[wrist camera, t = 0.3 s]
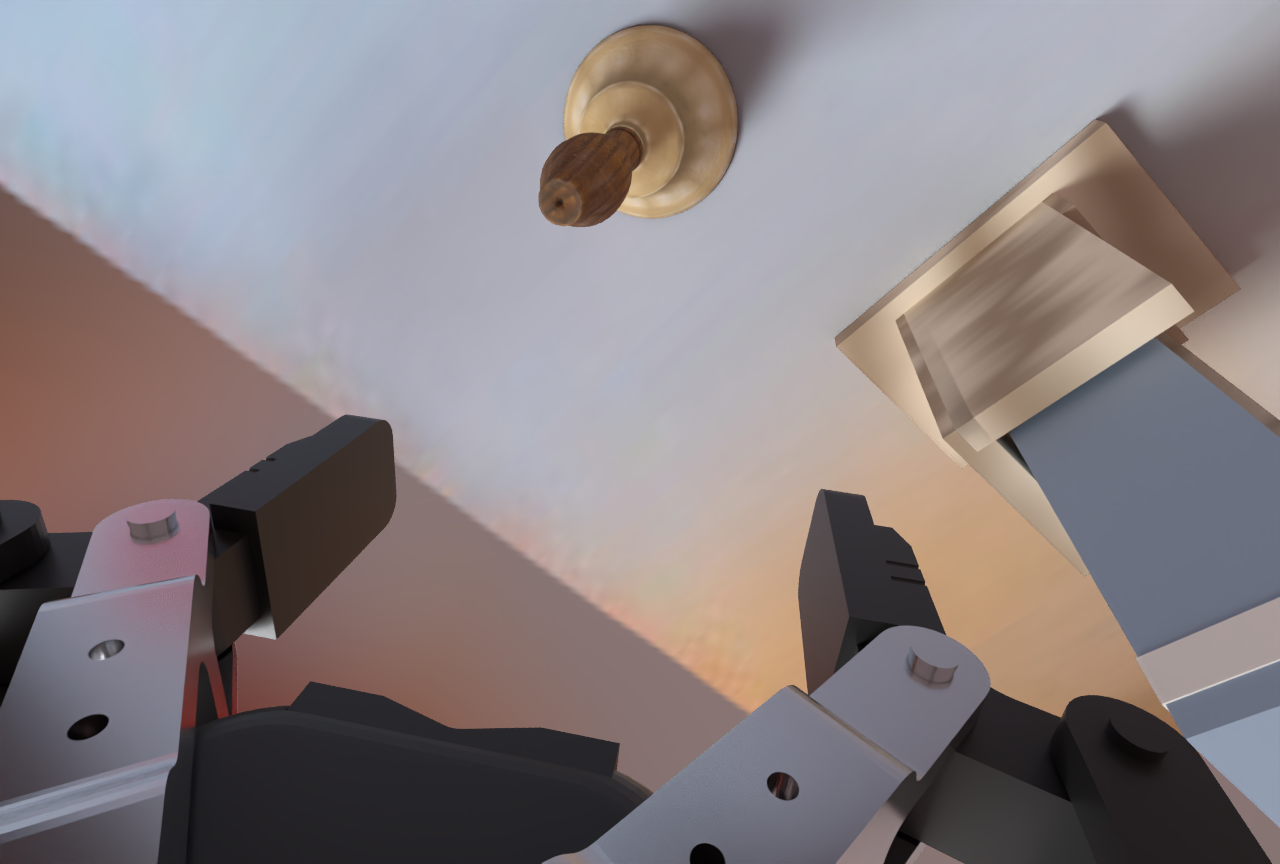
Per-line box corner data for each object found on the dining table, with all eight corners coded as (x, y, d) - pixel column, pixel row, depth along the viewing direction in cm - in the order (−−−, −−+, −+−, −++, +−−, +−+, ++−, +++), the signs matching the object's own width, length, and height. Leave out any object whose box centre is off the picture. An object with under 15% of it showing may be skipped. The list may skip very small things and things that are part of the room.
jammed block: (1127, 312, 22) (1514, 620, 11) (1211, 409, 24) (1647, 786, 12) (991, 405, 25) (1180, 738, 13) (1073, 488, 26) (1317, 865, 14)
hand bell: (763, 55, 29) (748, 72, 16) (707, 238, 34) (658, 373, 20) (583, 1, 29) (416, -28, 16) (551, 190, 34) (399, 292, 20)
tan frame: (1094, 119, 28) (1285, 169, 18) (1225, 280, 30) (1466, 412, 20) (834, 337, 35) (858, 469, 24) (956, 456, 37) (1027, 625, 27)
